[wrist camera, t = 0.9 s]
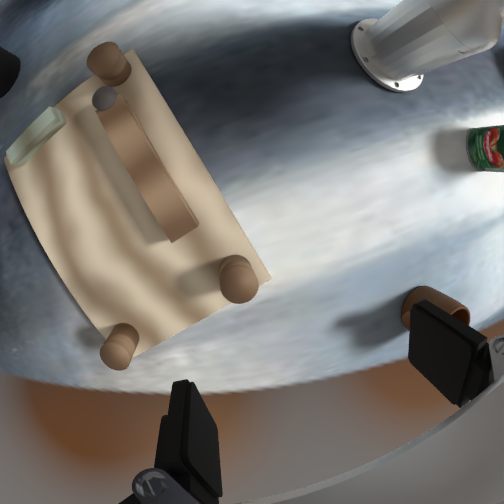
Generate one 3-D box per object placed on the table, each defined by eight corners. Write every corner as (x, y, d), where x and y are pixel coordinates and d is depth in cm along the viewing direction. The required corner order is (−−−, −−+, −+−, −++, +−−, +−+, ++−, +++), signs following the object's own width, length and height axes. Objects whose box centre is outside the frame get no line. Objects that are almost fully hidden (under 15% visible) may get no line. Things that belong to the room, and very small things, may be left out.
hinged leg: (99, 106, 24) (86, 97, 21) (121, 90, 24) (110, 79, 21) (175, 238, 29) (170, 244, 25) (199, 222, 29) (197, 227, 25)
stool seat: (136, 55, 25) (121, 29, 18) (268, 273, 34) (282, 294, 27) (11, 160, 25) (-20, 158, 19) (128, 354, 34) (114, 385, 27)
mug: (371, 325, 38) (405, 358, 28) (387, 277, 36) (429, 301, 27) (423, 328, 40) (457, 354, 31) (438, 286, 38) (477, 307, 29)
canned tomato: (492, 161, 35) (535, 163, 24) (475, 178, 35) (522, 182, 24) (478, 122, 33) (522, 118, 22) (460, 136, 33) (509, 132, 22)
